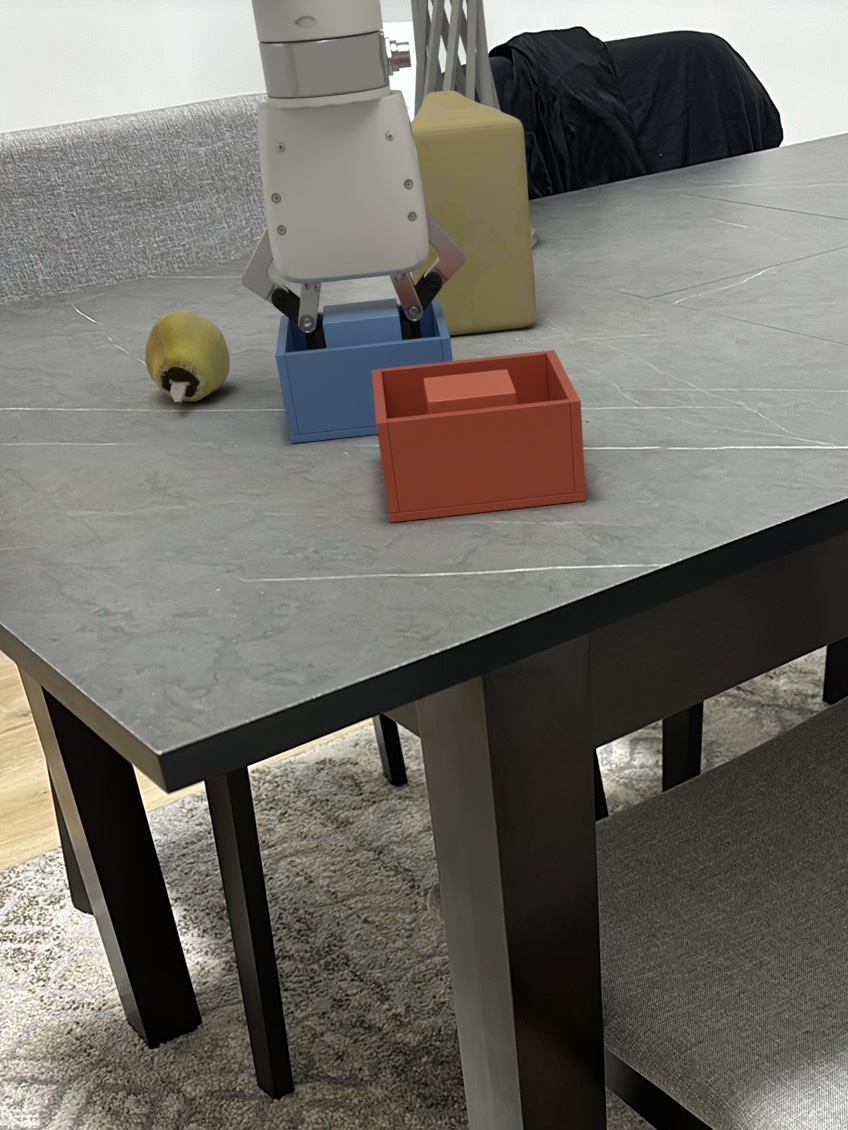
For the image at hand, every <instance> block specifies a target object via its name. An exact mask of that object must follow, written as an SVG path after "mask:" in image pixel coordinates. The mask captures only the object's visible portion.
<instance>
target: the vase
mask: <svg viewBox="0 0 848 1130" xmlns="http://www.w3.org/2000/svg"><path fill="white" fill-rule="evenodd" d="M430 2H431V6H432V12H431V15H430V10H429V0H410V6H411V17H412V27H413V39H414V51H415V52H414V53H415V85H414V86H415V89H414V112H413V113H414V114H413V119H414V118H415V116H416V115H417V113H418V111H419V110H420V108H421V106H422V103H423V100H424V98H425V97H426V96H427V94H429V93H431V92H439V91H449V90H451V91H455V87H456V90H457V92H458V93H460V94H461V95H463V96H465V97H467V98H469V99H471V100H473V101H475V97H476V95H475V91H476V93H477V97H478V100H479V103H480V104H483V105H486V106H490V107H493V108H495V109H497V110H499V111H501V107H500V103H499V99H498V95H497V94H498V93H497V89H496V86H495V82H494V76H493V72H492V68H491V63H490V59H489V58H490V57H489V48H488V40H487V39H488V38H487V37H488V36H487V29H486V20H485V9H484V8H485V7H484V0H465V4H466V13H465V10H464V7H463V6H464V0H449V3H450V7H451V8H450V15H449V16H450V17H449V19H448V15H447V11H446V9H445V2H446V0H430ZM441 40H442V43H443V47H444V50H445V53H446V56H445V66H444V77H443V72H442V67H441V63H440V59H439V58H440V57H439V55H440V46H441ZM460 40H461V44H462V47H463V50H464V53H465V73H464V70H463V69H464V68H463V66H462V63H461V59H460V56H459V46H460ZM530 232H531V245H532V248H533V247H534V246H535V245H536V244H537V242H538V238H537V237H538V236H537V230H536V229H535V228H533V227H532V226H530Z"/></svg>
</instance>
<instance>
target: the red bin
mask: <svg viewBox="0 0 848 1130" xmlns="http://www.w3.org/2000/svg"><path fill="white" fill-rule="evenodd" d="M505 369H506V370H507V371H508V373H509V376H510V378H511V381H512V383H513V386H514V389H515V391H516V397H517V405H511V406H501V407H492V408H483V409H474V410H465V411H456V412H446V413H437V414H428V415H427V407H426V399H425V390H424V382H423V379H424V378H430V377H440V376H449V375H458V374H467V373H477V372H486V371H495V370H505ZM372 381H373V392H374V404H375V415H376V426H377V433H378V434H377V440H378V446H379V455H380V460H381V467H382V475H383V482H384V483H383V484H384V490H385V496H386V503H387V513H388V519H389V522H390V523H399V522H407V521H417V520H425V519H433V518H443V517H451V516H460V515H470V514H478V513H486V512H496V511H505V510H513V509H524V508H532V507H541V506H550V505H557V504H567V503H575V502H584V501H586V500H587V499H586V478H585V477H586V476H585V475H586V474H585V460H584V459H585V458H584V457H585V456H584V440H583V437H584V436H583V421H582V418H583V417H582V401H581V399H580V397H579V395H578V394H577V391H576V389H575V388H574V385H573V384H572V381H571V380H570V377H569V376H568V373H567V371H566V370H565V367H564V366H563V364H562V362H561V360H560V358H559V356H558V353H557V352H556V351H555V350H554V349H551V350H542V351H533V352H532V351H531V352H523V353H513V354H506V355H505V354H504V355H495V356H487V357H478V358H477V357H476V358H468V359H467V358H466V359H457V360H453V361H448V362H438V363H429V364H419V365H410V366H401V367H391V368H382V369H374V370H372Z"/></svg>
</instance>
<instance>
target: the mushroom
mask: <svg viewBox="0 0 848 1130" xmlns="http://www.w3.org/2000/svg"><path fill="white" fill-rule="evenodd" d="M230 357H231V356H230V353H229V349H228V345H227V341H226V339H225V337H224V335H223V333H222V331H221V329H220V328H219V327H218V326H217V325H216V324H215V323H213V322H212V321H210V320H209V319H207V318H205V317H203V316H201V315H199V314H196V313H195V312H193V311H190V310H184V309H183V310H182V309H181V310H180V309H178V310H173V311H170V312H167V313H165V314H164V315H162V316H161V317H160V318H159V319H158V320H157V321H156V322H155V324H154V325H153V326H152V328H151V330H150V333H149V335H148V338H147V341H146V345H145V351H144V361H145V366H146V369H147V373H148V374H149V376H150V378H151V380H152V381H153V382H154V383H155V384H156V386H157V387H158V389H159V390H160V391H161V392H162V393H163V394H164V395H166V396H167V397H169V398H171V399H172V400H173V401H174V403H175V404H176V405H181V404H182V402H183V401H185V402H190V403H191V402H197V401H200V400H202V399H204V398H205V397H207V396H209V395H210V394H211V393H214V392H216V391H218V390H219V389H220V388H221V387H222V386H223V384H224V383H225V381H226V380H227V378H228V377H229V373H230V367H231V358H230Z"/></svg>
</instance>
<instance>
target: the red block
mask: <svg viewBox="0 0 848 1130" xmlns="http://www.w3.org/2000/svg"><path fill="white" fill-rule="evenodd" d="M423 382H424V390H425V399H426V407H427V415H428V414H437V413H446V412H456V411H465V410H474V409H483V408H492V407H501V406H511V405H517V397H516V391H515V389H514V386H513V383H512V381H511V378H510V376H509V373H508V371H507V370H506V369H505V370H495V371H486V372H477V373H467V374H458V375H449V376H440V377H430V378H424V379H423Z"/></svg>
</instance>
